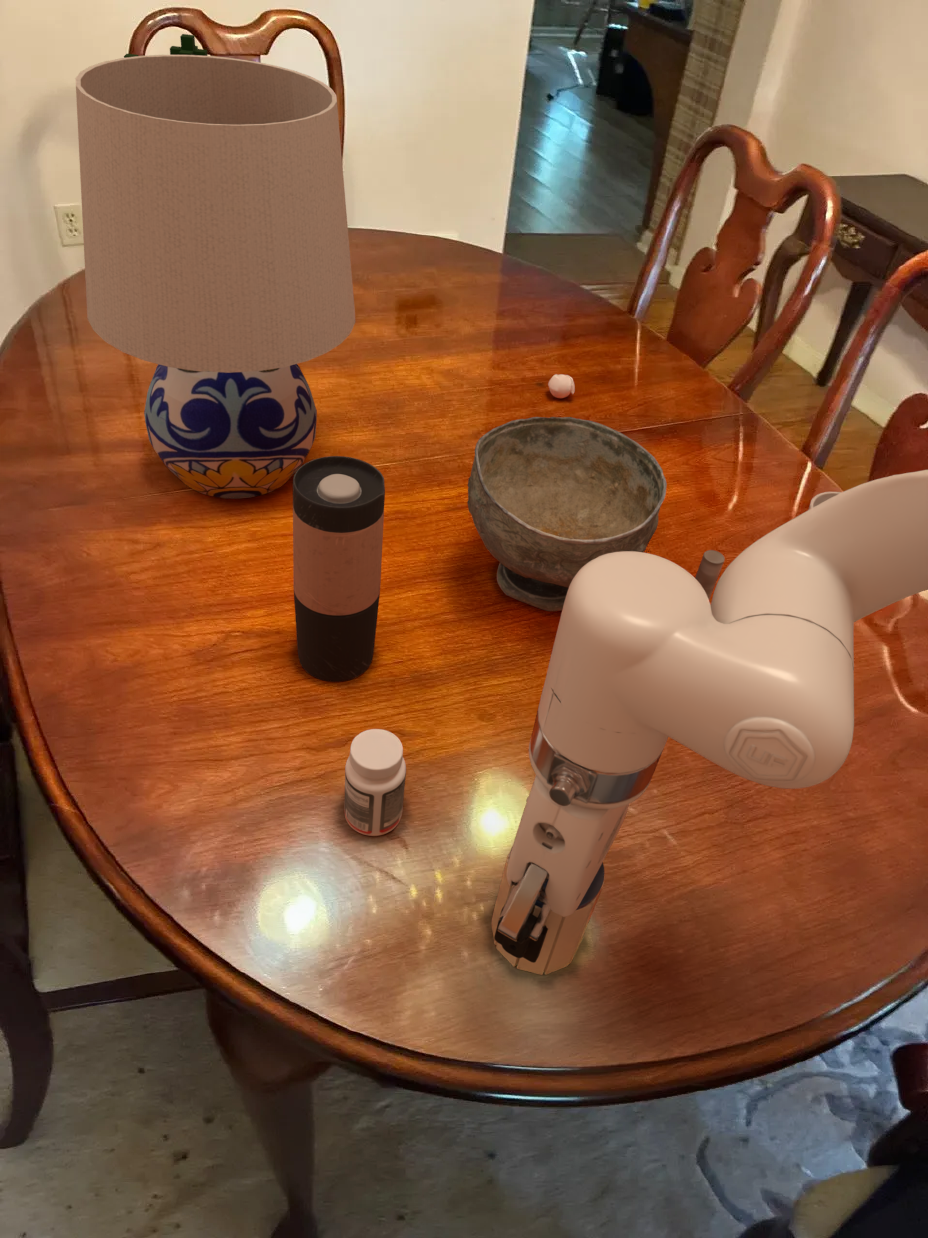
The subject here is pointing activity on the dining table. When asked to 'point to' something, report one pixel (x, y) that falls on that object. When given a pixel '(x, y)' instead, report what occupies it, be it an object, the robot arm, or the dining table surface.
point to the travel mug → (337, 564)
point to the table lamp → (216, 253)
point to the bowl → (560, 501)
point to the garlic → (561, 385)
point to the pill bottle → (374, 782)
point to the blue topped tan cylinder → (552, 928)
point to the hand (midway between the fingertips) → (545, 897)
